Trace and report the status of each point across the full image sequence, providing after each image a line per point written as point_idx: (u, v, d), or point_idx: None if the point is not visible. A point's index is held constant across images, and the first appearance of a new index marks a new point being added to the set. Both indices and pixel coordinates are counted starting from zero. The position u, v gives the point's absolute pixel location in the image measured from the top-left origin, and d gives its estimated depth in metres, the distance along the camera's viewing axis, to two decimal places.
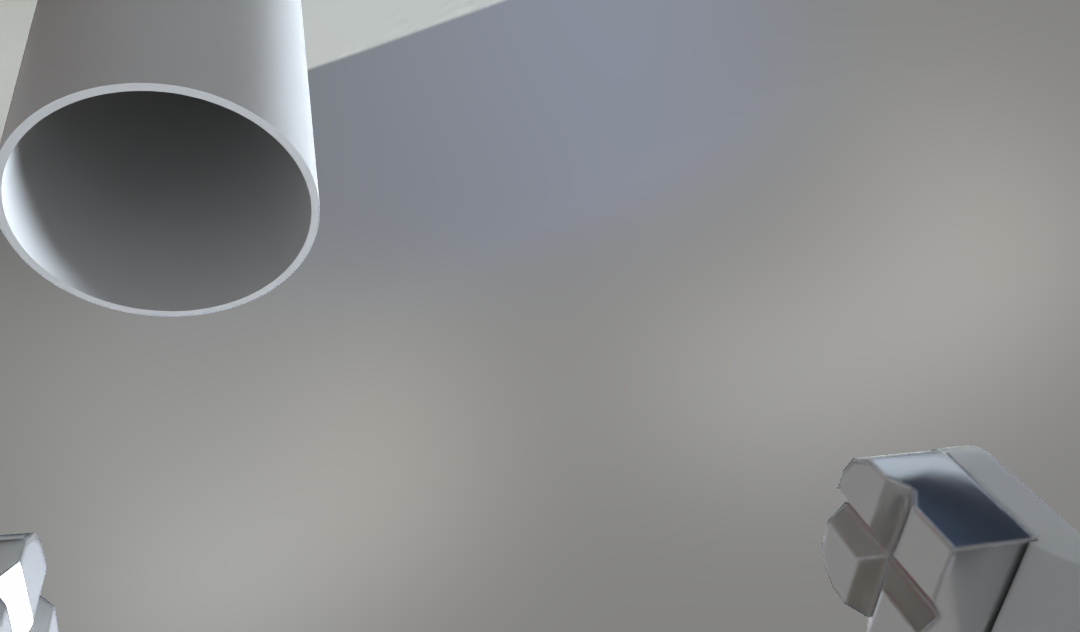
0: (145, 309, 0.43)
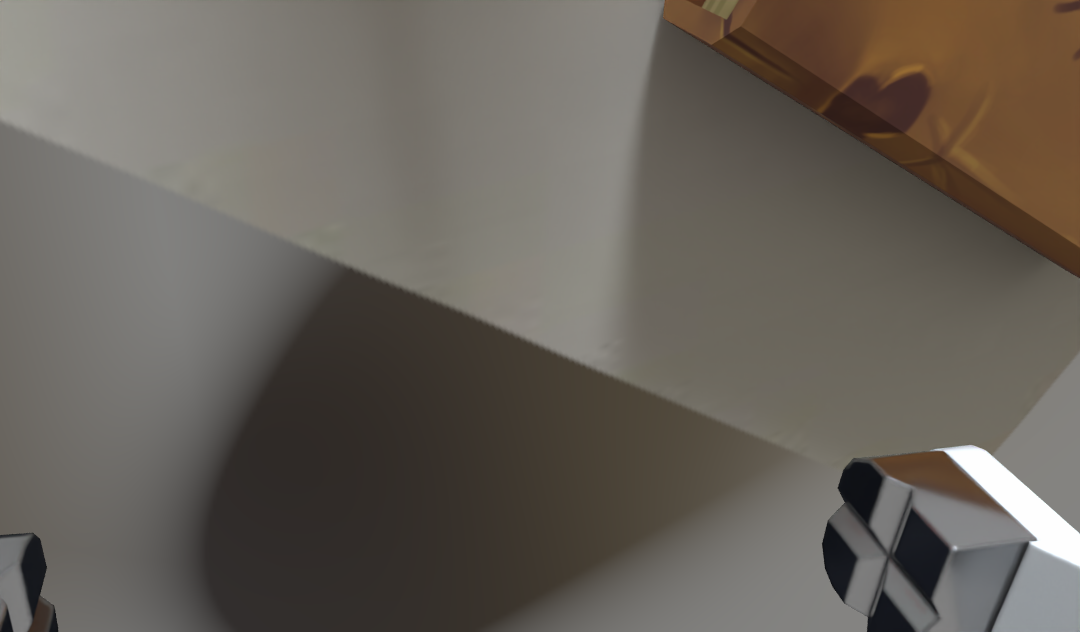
0: None
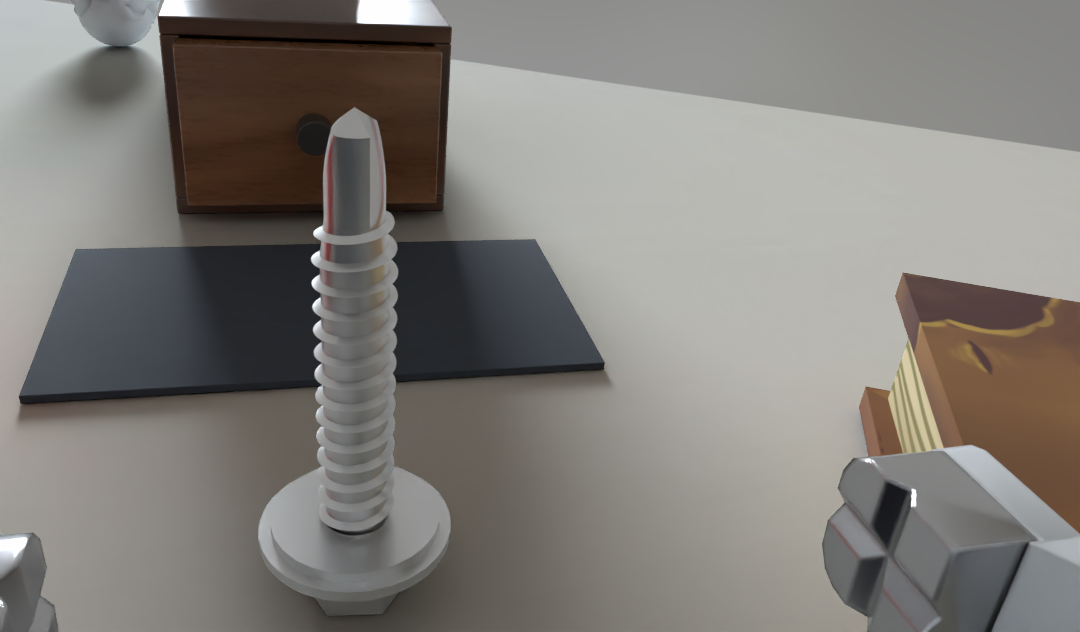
0: None
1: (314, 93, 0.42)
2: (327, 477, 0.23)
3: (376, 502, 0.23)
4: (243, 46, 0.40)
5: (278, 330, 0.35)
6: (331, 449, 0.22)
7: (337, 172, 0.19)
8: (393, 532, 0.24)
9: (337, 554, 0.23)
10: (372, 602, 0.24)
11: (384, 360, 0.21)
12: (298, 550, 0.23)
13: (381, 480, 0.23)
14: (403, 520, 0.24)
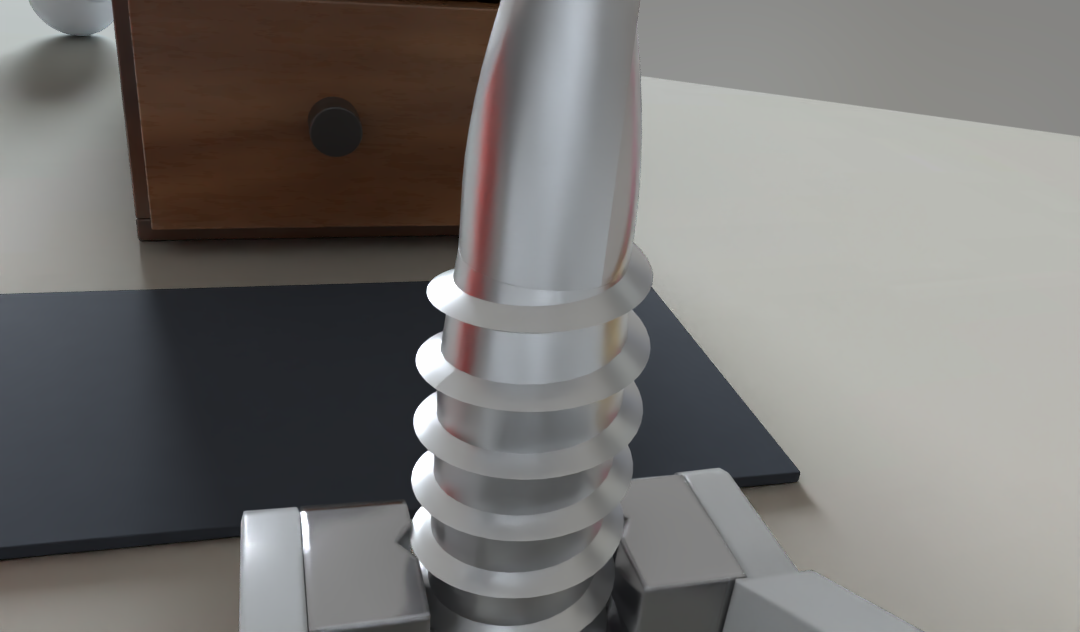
0: None
1: (334, 66, 0.29)
2: None
3: None
4: None
5: (286, 425, 0.22)
6: None
7: (524, 111, 0.06)
8: None
9: None
10: None
11: None
12: None
13: None
14: None
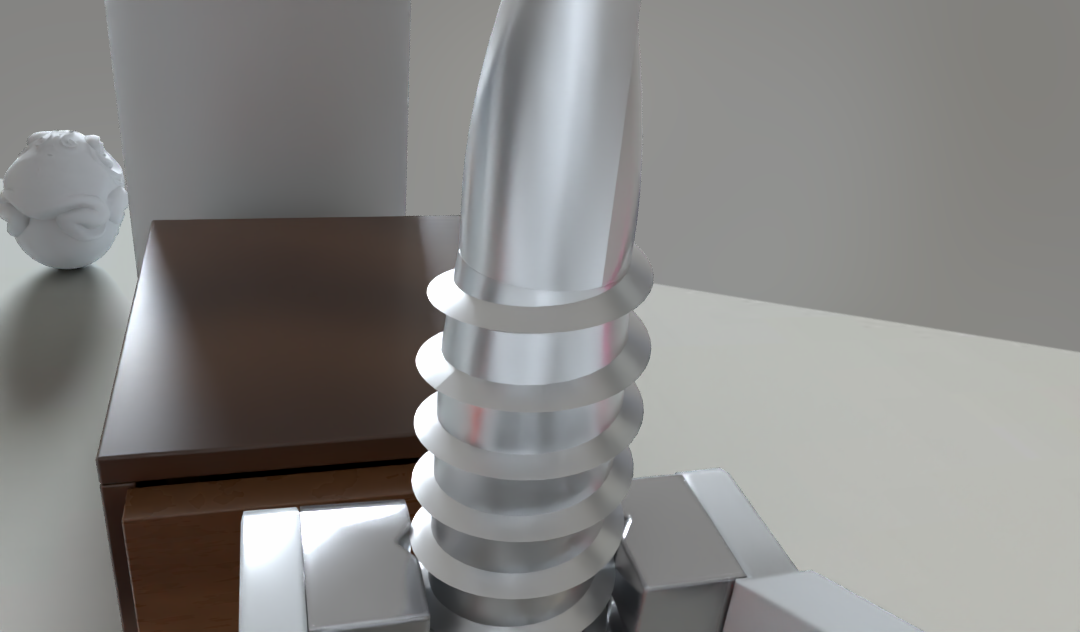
0: None
1: None
2: None
3: None
4: (251, 505, 0.22)
5: None
6: None
7: (525, 111, 0.06)
8: None
9: None
10: None
11: None
12: None
13: None
14: None
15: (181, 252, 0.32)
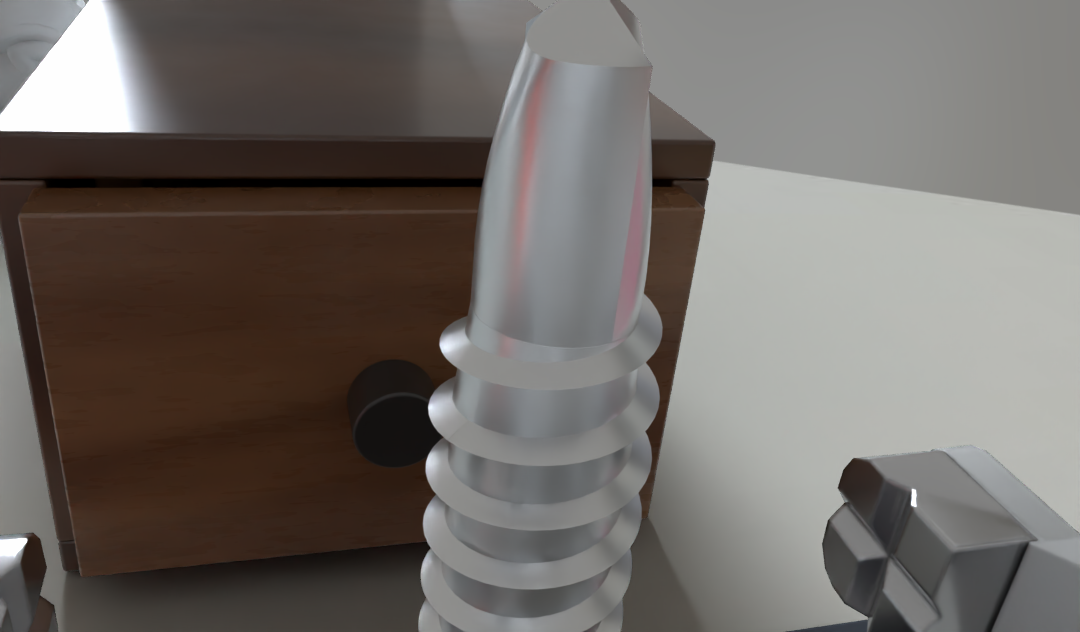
0: None
1: (395, 313, 0.17)
2: None
3: None
4: (216, 211, 0.15)
5: None
6: None
7: (536, 176, 0.06)
8: None
9: None
10: None
11: None
12: None
13: None
14: None
15: None
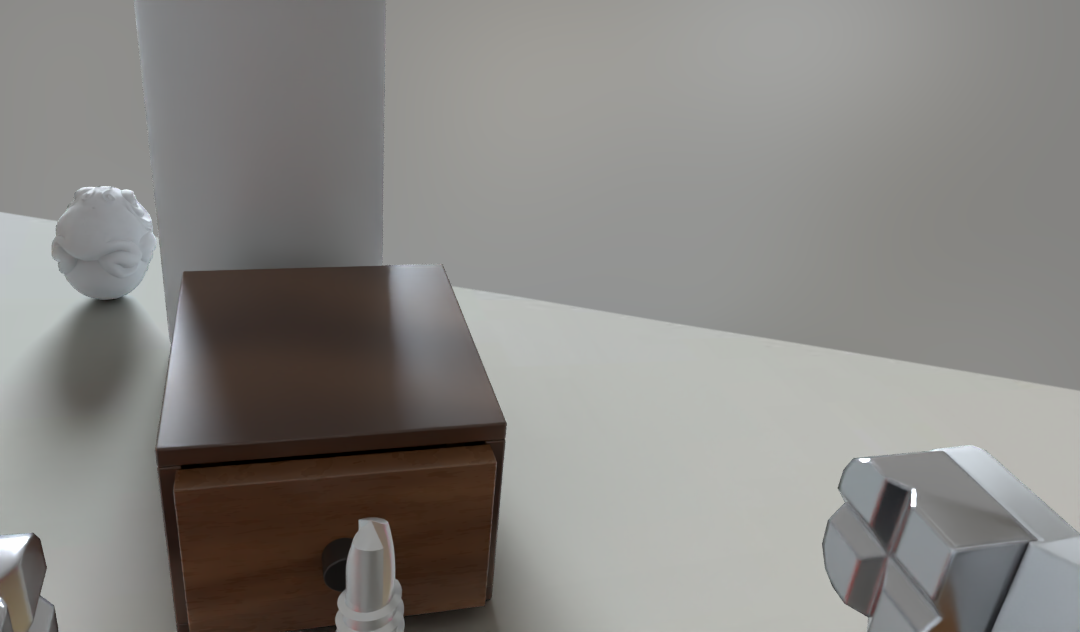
0: None
1: (344, 518, 0.35)
2: None
3: None
4: (259, 481, 0.33)
5: None
6: None
7: (356, 571, 0.24)
8: None
9: None
10: None
11: None
12: None
13: None
14: None
15: (206, 297, 0.43)
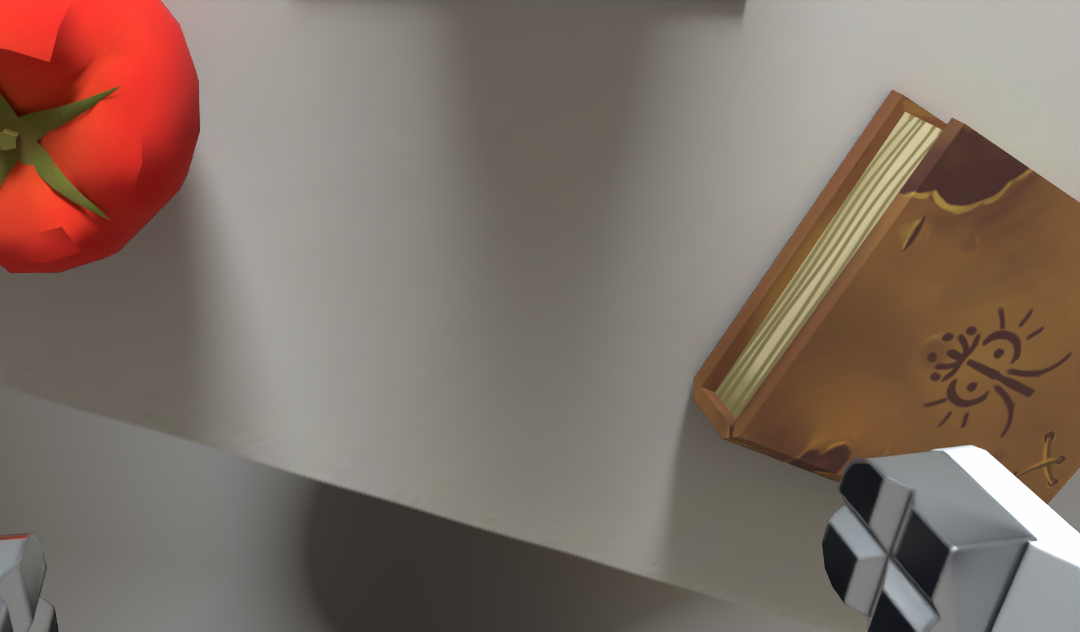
0: None
1: None
2: None
3: None
4: None
5: None
6: None
7: None
8: None
9: None
10: None
11: None
12: None
13: None
14: None
15: None
